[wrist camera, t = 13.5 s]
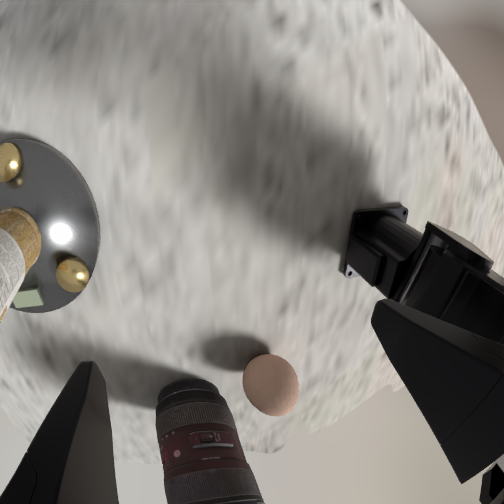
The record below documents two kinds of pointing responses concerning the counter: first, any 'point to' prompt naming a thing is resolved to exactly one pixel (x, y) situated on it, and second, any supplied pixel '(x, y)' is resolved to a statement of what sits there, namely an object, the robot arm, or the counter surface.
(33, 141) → the tribrach plate
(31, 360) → the counter surface
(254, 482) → the camera lens
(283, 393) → the egg
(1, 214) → the sprinkles bottle
